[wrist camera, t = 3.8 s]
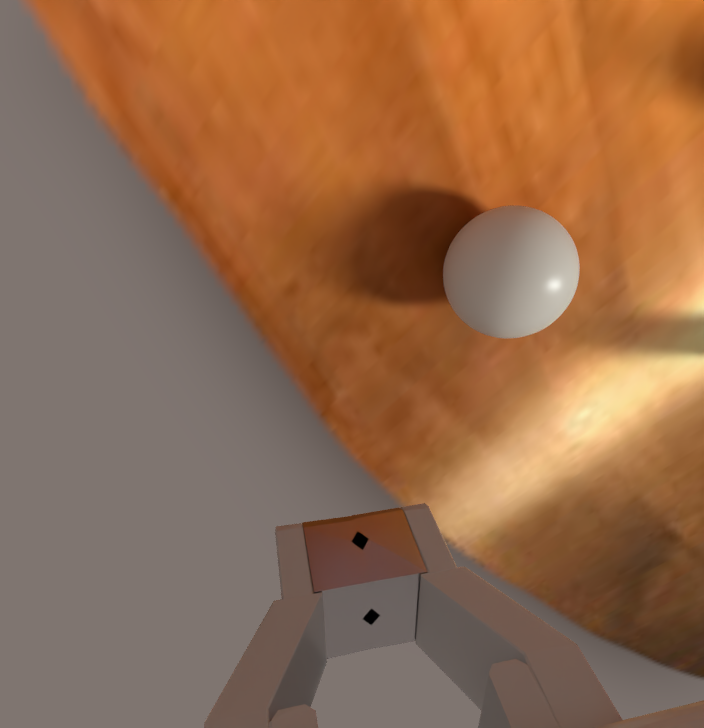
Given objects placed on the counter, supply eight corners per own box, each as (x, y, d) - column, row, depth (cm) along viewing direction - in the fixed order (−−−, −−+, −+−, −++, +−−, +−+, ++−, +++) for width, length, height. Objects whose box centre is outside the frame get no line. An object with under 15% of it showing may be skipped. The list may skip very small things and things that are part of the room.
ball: (429, 196, 23) (481, 230, 19) (546, 189, 24) (624, 220, 20) (422, 312, 26) (465, 368, 21) (527, 302, 27) (591, 354, 22)
